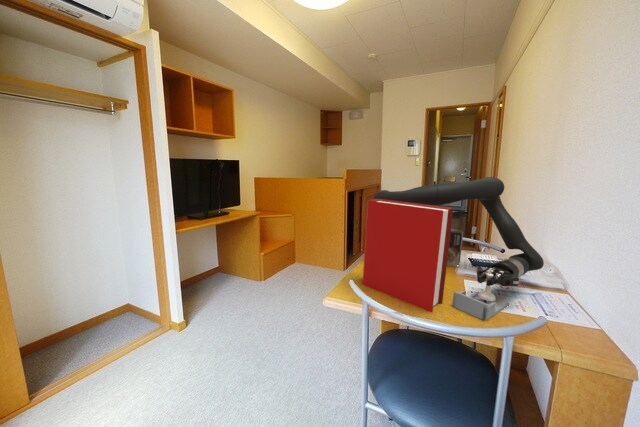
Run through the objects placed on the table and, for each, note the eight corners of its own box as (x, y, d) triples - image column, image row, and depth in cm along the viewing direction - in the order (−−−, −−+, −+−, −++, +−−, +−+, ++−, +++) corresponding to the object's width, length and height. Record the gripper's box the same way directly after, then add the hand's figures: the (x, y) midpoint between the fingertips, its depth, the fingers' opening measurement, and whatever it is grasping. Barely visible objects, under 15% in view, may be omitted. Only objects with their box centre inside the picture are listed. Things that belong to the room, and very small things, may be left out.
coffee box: (460, 263, 127) (464, 230, 124) (458, 267, 122) (462, 233, 119) (439, 259, 132) (442, 227, 129) (436, 263, 127) (440, 230, 124)
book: (442, 303, 89) (453, 207, 84) (432, 312, 83) (443, 210, 78) (372, 278, 108) (377, 198, 102) (360, 284, 102) (365, 200, 97)
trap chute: (452, 306, 88) (453, 291, 87) (478, 293, 97) (479, 280, 96) (484, 320, 80) (487, 305, 79) (509, 305, 89) (511, 291, 88)
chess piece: (474, 293, 92) (478, 265, 90) (488, 293, 93) (492, 265, 91) (484, 301, 87) (488, 271, 86) (499, 300, 88) (503, 271, 86)
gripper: (487, 254, 101) (463, 263, 91) (532, 266, 90) (509, 278, 80) (485, 273, 102) (460, 284, 93) (528, 287, 91) (505, 301, 82)
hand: (483, 281), depth 87 cm, fingers closed on chess piece
